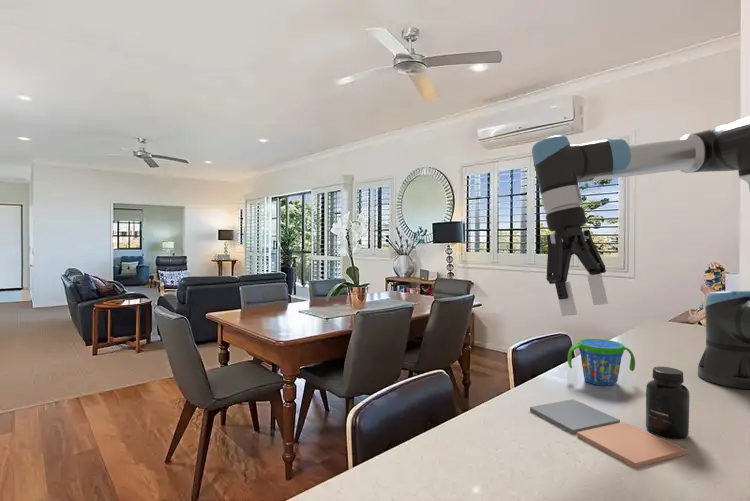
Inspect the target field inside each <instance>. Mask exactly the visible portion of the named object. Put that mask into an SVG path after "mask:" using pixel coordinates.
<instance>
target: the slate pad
mask: <svg viewBox="0 0 750 501" xmlns="http://www.w3.org/2000/svg"><path fill="white" fill-rule="evenodd" d="M529 411H530V412H532V413H533V414H535V415H537V416H539V417H540V418H542V419H544V420H546V421H548V422H550V423H551V424H554V425H556V426H558V427H559V428H561V429H563V430H564V431H566V432H568V433H570V434H572V435H577V432H580V431H585V430H589V429H594V428H598V427H603V426H608V425H612V424H617V423H621V419H619V418H616V417H614V416H612V415H610V414H607V412H606V413H605V412H603V411H601V410H599V409H596V408H594V407H593V406H590V405H587V404H585V403H583V402H580V401H579V400H576V399H574V398H572V399H566V400H561V401H560V400H559V401H555V402H550V403H547V404H546V403H545V404H540V405H534V406H530V407H529Z"/></svg>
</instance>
